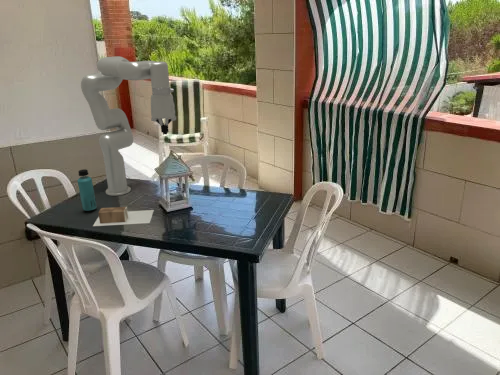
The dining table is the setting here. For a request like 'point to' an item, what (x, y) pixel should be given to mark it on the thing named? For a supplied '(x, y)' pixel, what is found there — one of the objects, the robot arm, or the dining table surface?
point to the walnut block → (113, 215)
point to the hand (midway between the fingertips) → (165, 133)
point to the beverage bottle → (86, 191)
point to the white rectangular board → (131, 218)
